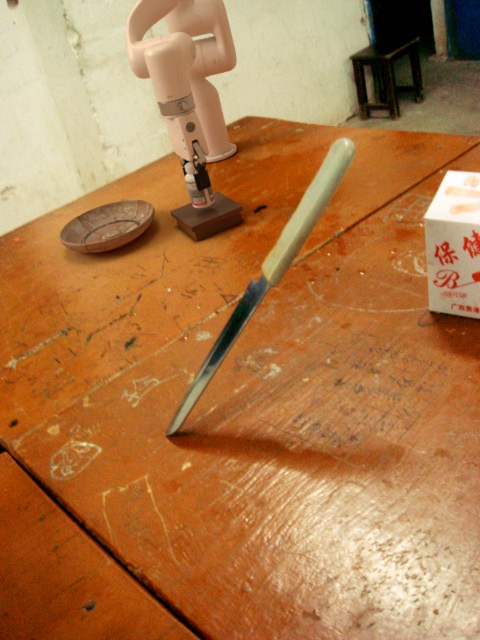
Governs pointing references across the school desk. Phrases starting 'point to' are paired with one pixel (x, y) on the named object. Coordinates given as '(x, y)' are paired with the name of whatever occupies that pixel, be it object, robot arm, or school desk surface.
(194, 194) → the pill bottle
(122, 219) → the ceramic bowl
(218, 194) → the platform
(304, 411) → the school desk surface
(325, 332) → the school desk surface
